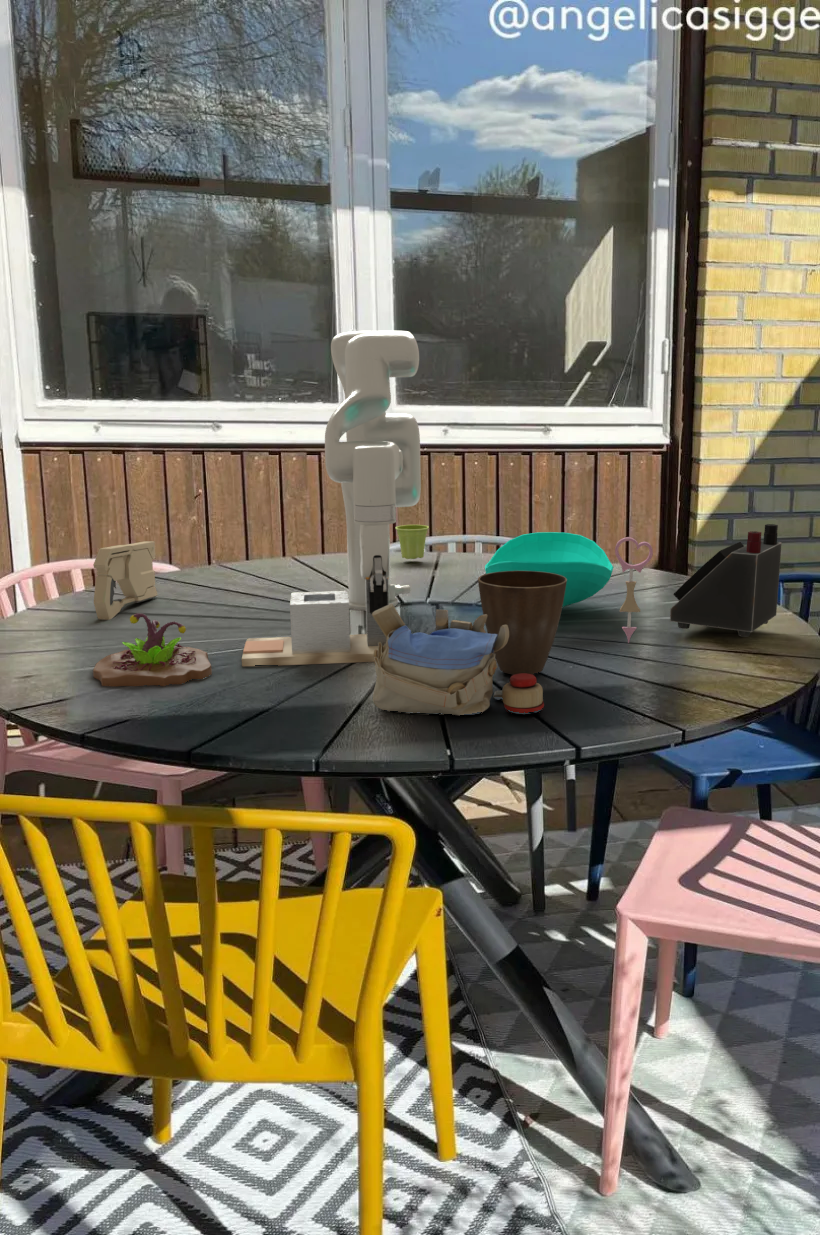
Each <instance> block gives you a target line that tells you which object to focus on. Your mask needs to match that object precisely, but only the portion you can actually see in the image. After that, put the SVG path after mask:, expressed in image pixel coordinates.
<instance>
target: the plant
mask: <svg viewBox="0 0 820 1235" xmlns="http://www.w3.org/2000/svg"><path fill="white" fill-rule="evenodd" d="M141 618H143V619H144V621H145V623H146V627H147V636H146V638H145V641H144V640H143V639H141V638H137V637H136V638H135V639H134V641H135V643H136V644H134V643H131V642H126V641H125V642H124V641H122V642H121V643H122V645H124V646H125V647H127V649H124V650H121V651H118V652H114V653H111V654H108V655H106V656H105V657H103V658H101V659H100V660H99V661H98V662H96V663H95V665H94V668H93V670H92V675H93V678H94V679H96V680H98V681H100V683H101V686H102V687H143V686H144V685H147V686H158V685H160V687H167V686H170V685H169V684H172V685H183V684H182V683H184V684H186V683H185V682H187V681H188V682H190V681H189V680H191V679H203V678H205V677H208V676H209V675H211V676H212V674H213V671H212V664H211V662H210V660H209V654H208V652H207V651H204V650H203V649H200V648H196V647H195V648H194V647H191V646H184V645H183V646H182V645H181V644H180V643H179V642H180V641H181V640H182V637H181V636H180V637H175V638H173V639H171V640H170V641H169V642H167V644H166V640H165V636H164V634H165V632H167V629H168V627H171V626H173V625H174V626H175V625H176V626H177V628H178V632H179V633H180V634H185V633H186V631H187V629H186V626H185V625H184V624H182V623H180V622H177V621H175V620H174V621H169V622H167V623H165V624H163V625H162V626H161V627H160V625H161V624H160V621H158V619H153V620H152V621H151V619H150V618H149V617H148V616H147V615H146V614H144V613H139V612H136V613H134V614H132V615H131V616H130V617H129V622H130V623H131V624H137V623H138V622H139V620H140V619H141ZM158 629H159V630H158ZM209 677H210V676H209ZM209 677H208V678H209ZM203 680H204V679H203ZM191 681H192V680H191ZM188 682H187V683H188ZM166 685H167V686H166Z"/></svg>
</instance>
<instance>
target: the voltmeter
mask: <svg viewBox="0 0 820 1235" xmlns="http://www.w3.org/2000/svg"><path fill="white" fill-rule="evenodd" d="M778 528H779V526H778V524H775V523H774V524H773V523H772V524H769V523H767V524H765V525H764V533H763V540H762V532H761V531H758V530H757V531H756V530H755V531H748V532H747V540H746V545H744V544H743V542H741V541H738V542H736V543H734V544H731V545H730V546H729V545H728V546H727V547H725V548H723V549H721V550H718V552H717V553H715V554H714V555H713V556H712V557H711V558H710V559H708V561H706V562H705V563H704V564H703V565H702V566H701V567H700V568H699V569H698V570H697V571H695V572H694V573H693V574H692V575H691V576H690V577H689V578H688V579H687V580H686V581H685V582H684V583H683V584H682V585H681V586H680V587H679V588H678V589H677V590H676V591H675V592H674V593H673V596H674V597H675V598H676V599H677V600H678V601H677V602H676V603H675V604H674V605H673V606H672V607H670V609H669V610H670V612H669V613H670V614H669V615H670V616H669V622H673V623H677V627H678V628H679V629H682V630H683V629H685V630H686V629H689V628H690V626H691V625H695V626H703V627H711V628H717V629H718V628H719V629H725V630H731V631H733V630H734V631H737V635H738V636H739V637H744V638H748V637H750V636H751V633H753V632H754V631H755V630H756V631H757V629H759V628H760V627H762V626H763V625H767V624H768V623H769V621H770V620H771V619H773V618H775V617H776V616H777V611H778V610H777V608H778V599H779V598H778V595H779V584H780V582H779V581H780V568H781V556H782V543H783V542H780V541H779V542H778Z"/></svg>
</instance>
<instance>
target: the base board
mask: <svg viewBox="0 0 820 1235" xmlns="http://www.w3.org/2000/svg"><path fill="white" fill-rule="evenodd" d="M266 640H284V645H283V652H267V653H243V652H242V657H241V667H256V666H255V665H278V666H296V665H297V666H298V665H300V666H301V665H303V666H304V665H320V664H325V665H326V664H347V663H348V664H350V663H373V662H374V650H378V646H368V645H367V633H362V634H361V633H359V634H358V633H357V634H350V652H331V653H306V654H292V640H291V636H284V637H283V636H277V637H258V638H257V637H254V638H247V639H246V641H266Z"/></svg>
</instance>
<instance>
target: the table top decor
mask: <svg viewBox="0 0 820 1235" xmlns="http://www.w3.org/2000/svg"><path fill="white" fill-rule="evenodd" d="M607 555H608V554H606V551H605V550H604V549H603V548H601V546H599V545H598V543H596V542H595V541H594V540H592V539H590V538H588V537H586V536H584V535H581V534H576V533H571V532H561V531H559V532H554V531H548V532H547V531H546V532H545V531H543V532H542V531H541V532H539V531H538V532H536V531H535V532H532V533H531V532H530V533H525V534H521V535H518V536H517V537H513V538H512V539H509V540H508V541H506V542H505V543H504V544H503V545H501V546H500V547H499V548H498V549H497V550H496V551H495V552H494V554H493V555H492V556H491V558H490V559H489V561H488V562H487V563H486V564H485V565H484V571H485V574H488V573H493V572H502V571H539V572H548V573H554V574H558V575H561V576H564V577H565V578H566V579H567V583H566V589H565V595H564V601H563V606H562V608H564V607H567V606H571V605H573V604H577V603H581V602H582V601H584V600H587V599H590V598H591V597H594V595H595V594H597V593H598V592H600V591H601V590H602V589H604V588H605V586H606V585H607V584H608V582H609V581H610V580H611V577H612V574H613V570H614V566H613V564H612V562H611V560H610V558H609V557H608V556H607Z"/></svg>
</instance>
